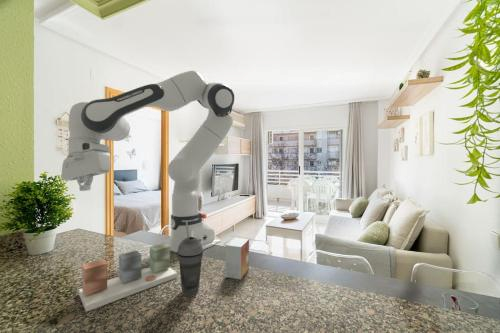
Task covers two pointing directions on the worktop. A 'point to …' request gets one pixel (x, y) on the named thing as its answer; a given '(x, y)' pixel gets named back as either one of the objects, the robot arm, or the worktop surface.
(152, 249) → the sage green block
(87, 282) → the pink tall block
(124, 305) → the worktop surface
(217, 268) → the worktop surface
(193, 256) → the beverage cup
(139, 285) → the base
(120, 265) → the grey tall block
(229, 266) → the small box
